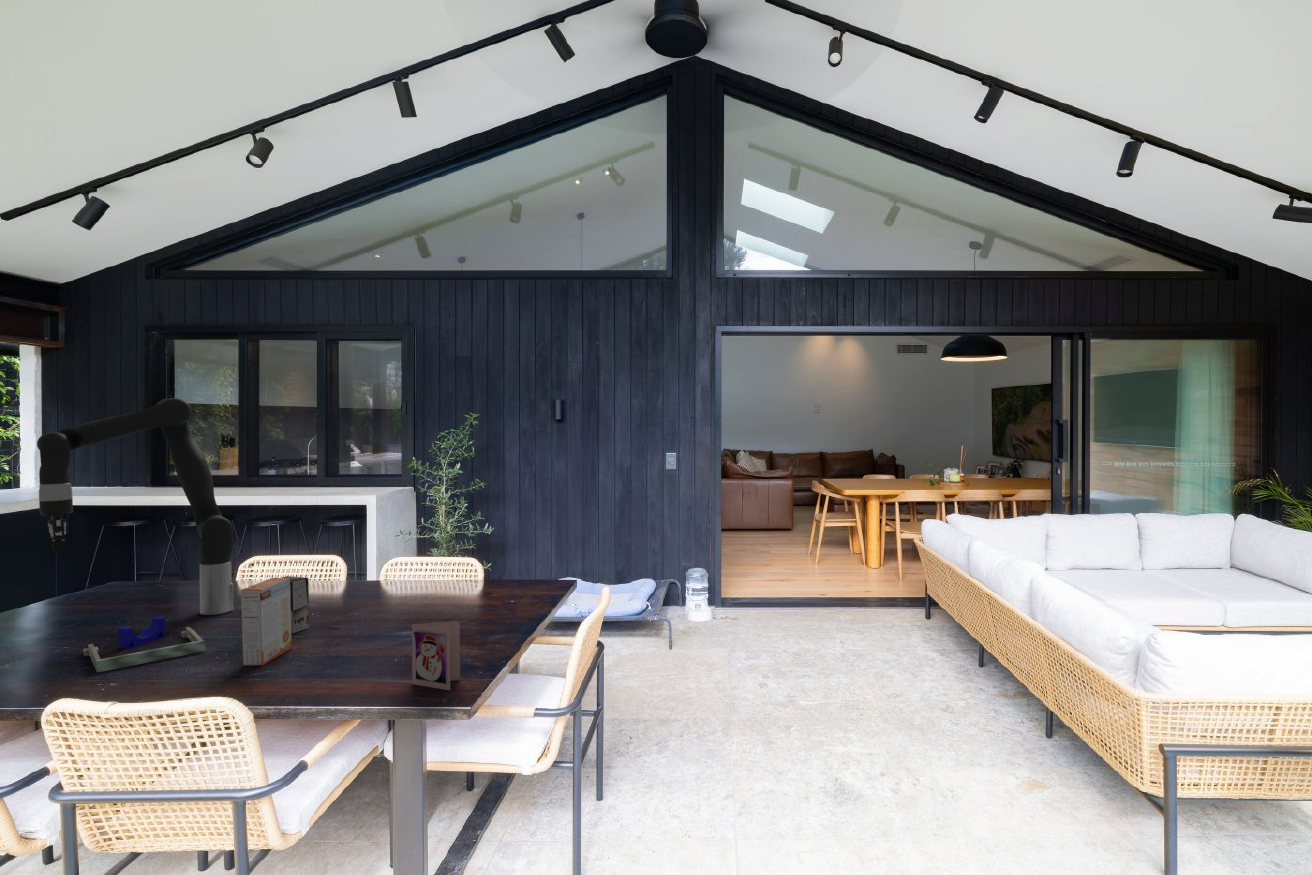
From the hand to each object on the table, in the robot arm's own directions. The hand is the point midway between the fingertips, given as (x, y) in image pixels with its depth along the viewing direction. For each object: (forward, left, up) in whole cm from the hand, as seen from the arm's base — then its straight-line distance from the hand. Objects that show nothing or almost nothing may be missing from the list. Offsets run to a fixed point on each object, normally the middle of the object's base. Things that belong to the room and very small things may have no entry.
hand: (58, 551), depth 204 cm
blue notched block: (-17, +21, -27) cm, 38 cm away
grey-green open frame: (-17, +33, -26) cm, 46 cm away
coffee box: (-53, +38, -27) cm, 71 cm away
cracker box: (-40, +62, -27) cm, 79 cm away
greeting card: (-65, +113, -27) cm, 133 cm away
